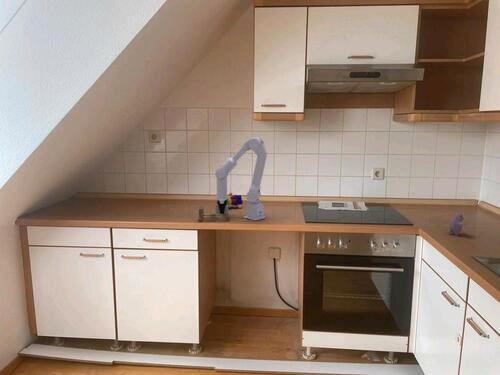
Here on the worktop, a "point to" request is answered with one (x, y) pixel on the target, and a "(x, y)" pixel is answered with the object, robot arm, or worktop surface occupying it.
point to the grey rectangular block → (219, 211)
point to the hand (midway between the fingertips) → (222, 213)
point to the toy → (234, 200)
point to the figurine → (456, 224)
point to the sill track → (211, 216)
